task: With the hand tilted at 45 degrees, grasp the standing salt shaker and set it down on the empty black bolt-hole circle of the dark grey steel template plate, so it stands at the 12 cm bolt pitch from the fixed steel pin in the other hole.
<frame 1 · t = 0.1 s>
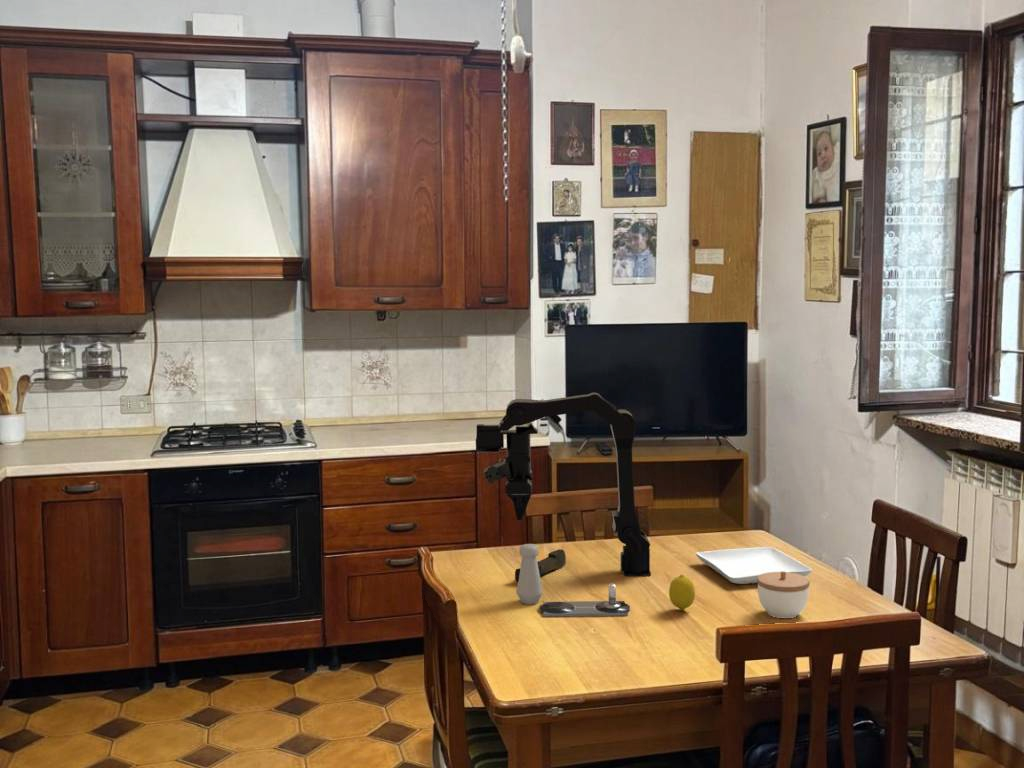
hand: (519, 515, 251), 15 cm above the table, tool pointing down, fingers open, 9 cm apart
hand tool: (541, 575, 253), on the table
salad plate: (752, 574, 251), on the table
salt shaker: (529, 602, 232), on the table
lemon: (681, 611, 224), on the table
fixed steel pin: (612, 609, 225), resting on template plate
lidded jar: (782, 615, 221), on the table
template plate: (584, 610, 226), on the table
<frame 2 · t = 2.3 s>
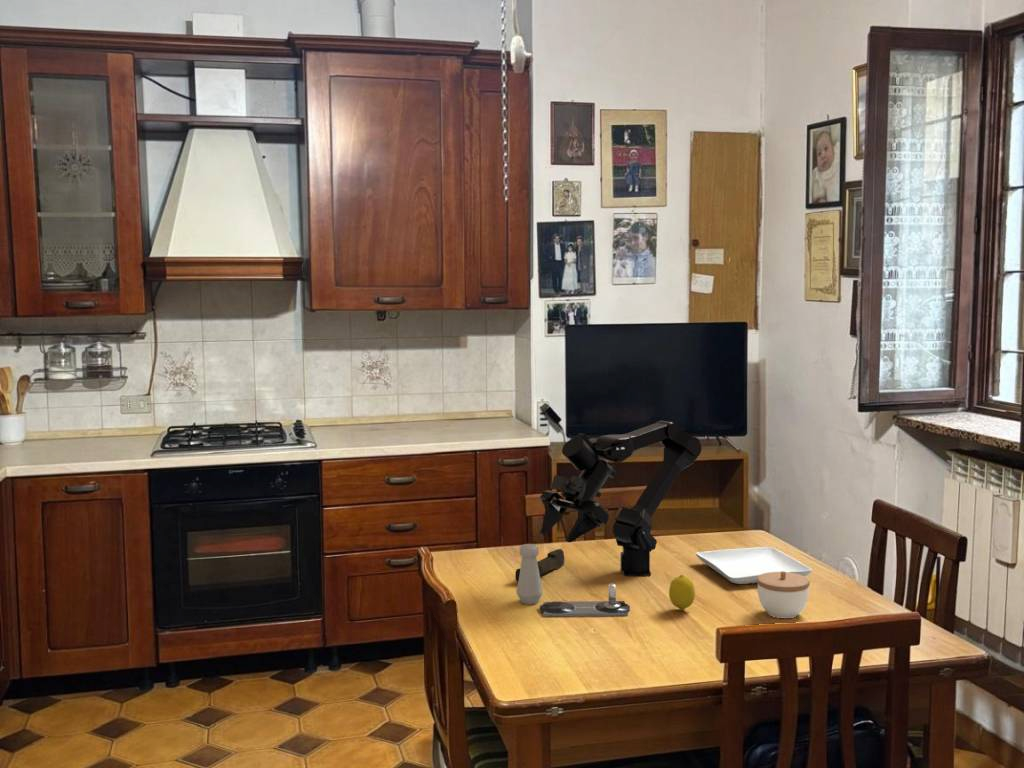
hand: (554, 537, 235), 13 cm above the table, tool tilted 45°, fingers open, 9 cm apart
nothing on the table moved.
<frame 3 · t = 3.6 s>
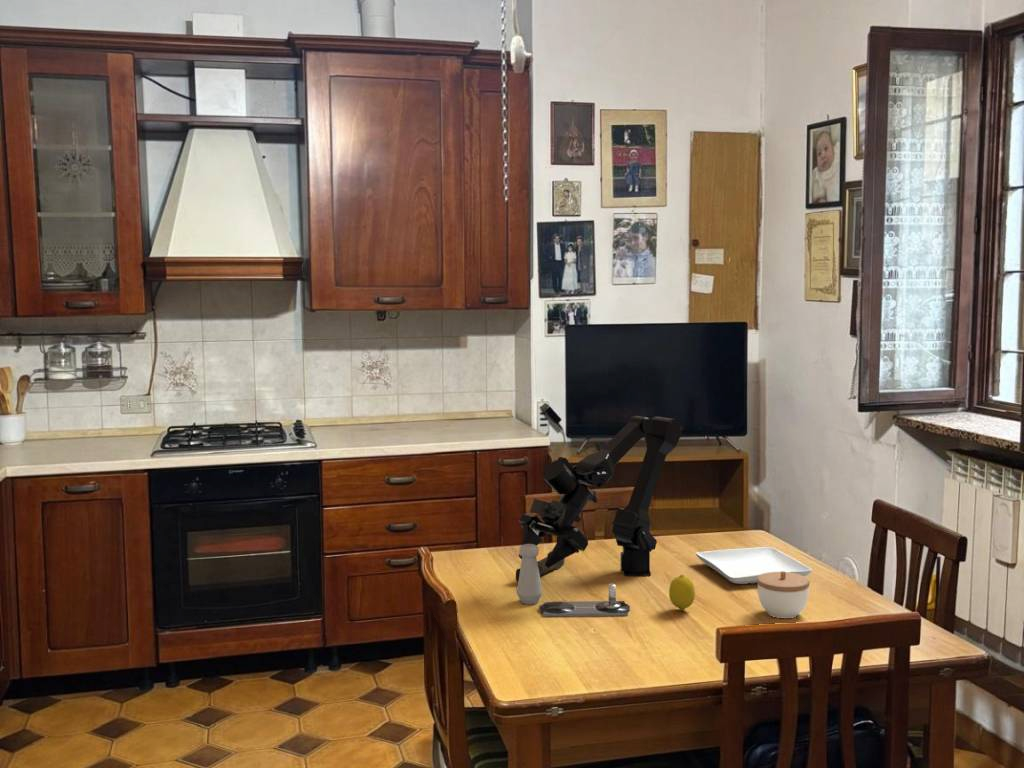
hand: (533, 562, 231), 9 cm above the table, tool tilted 45°, fingers open, 9 cm apart
nothing on the table moved.
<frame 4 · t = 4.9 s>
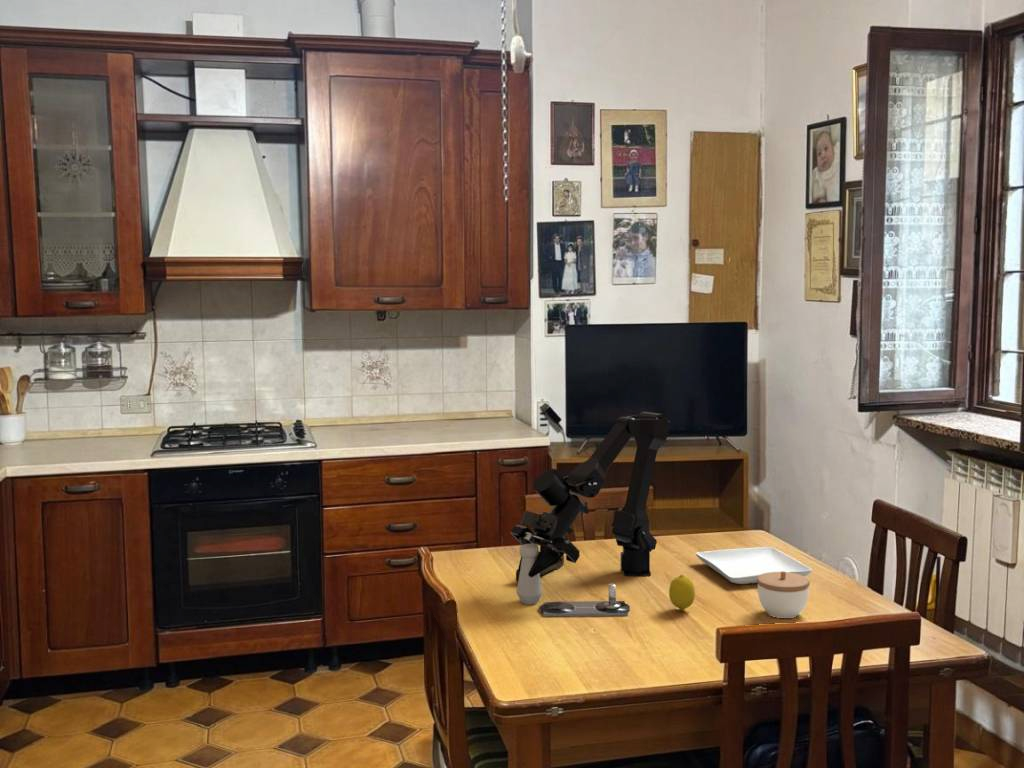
hand: (524, 574, 230), 7 cm above the table, tool tilted 45°, fingers closed on salt shaker, 3 cm apart
salt shaker: (529, 602, 232), on the table, touching gripper
everything else where it was.
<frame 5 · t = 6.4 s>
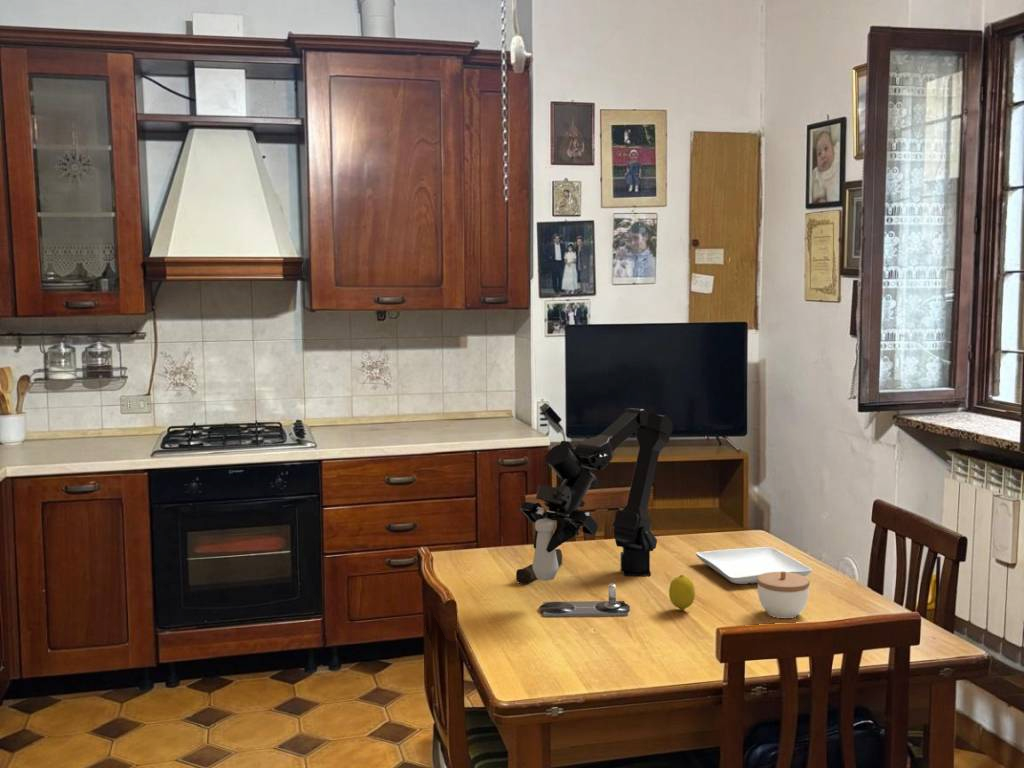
hand: (541, 549, 225), 13 cm above the table, tool tilted 45°, fingers closed on salt shaker, 3 cm apart
salt shaker: (545, 578, 227), point 6 cm above the table, touching gripper
everything else where it was.
when the fingers open (8 cm above the table, at t = 7.9 s): salt shaker stays where it is, resting on template plate.
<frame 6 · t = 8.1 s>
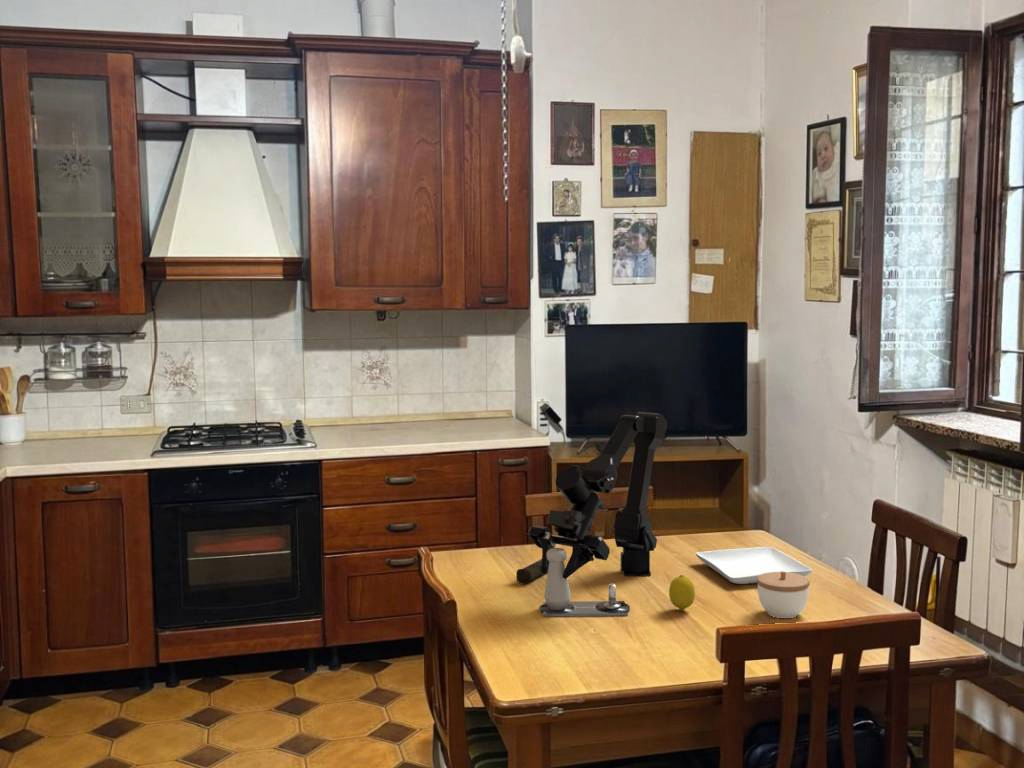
hand: (553, 575, 224), 8 cm above the table, tool tilted 45°, fingers open, 5 cm apart
salt shaker: (557, 607, 226), resting on template plate
everything else where it was.
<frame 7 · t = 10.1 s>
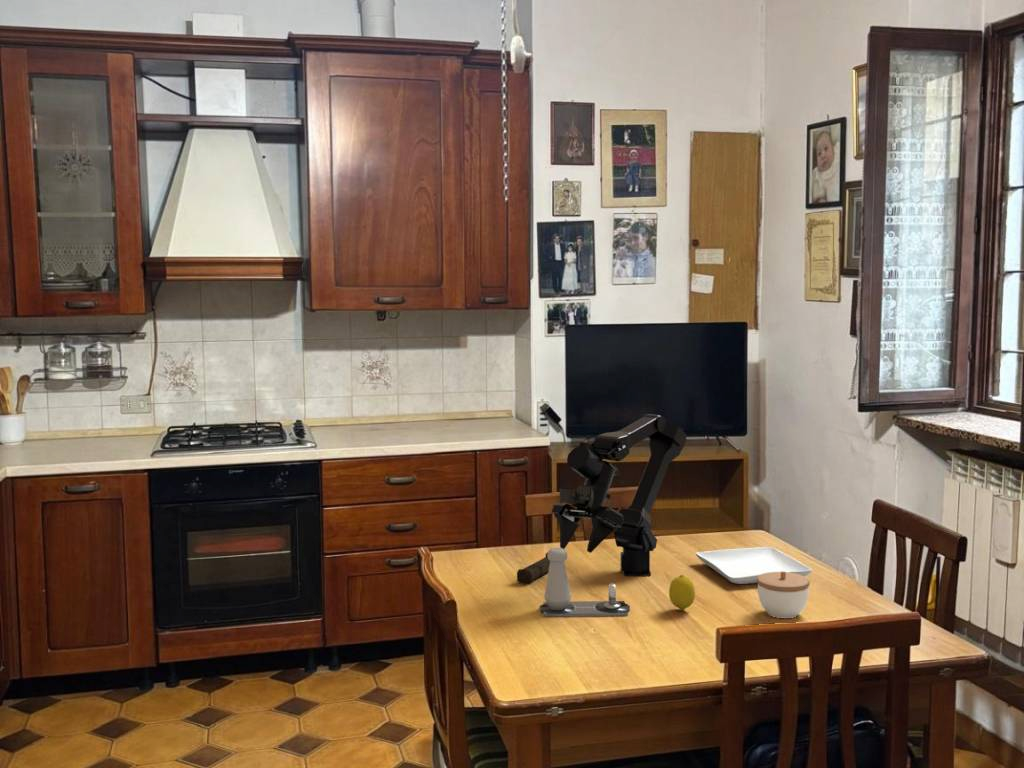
hand: (575, 550, 233), 11 cm above the table, tool tilted 30°, fingers open, 9 cm apart
nothing on the table moved.
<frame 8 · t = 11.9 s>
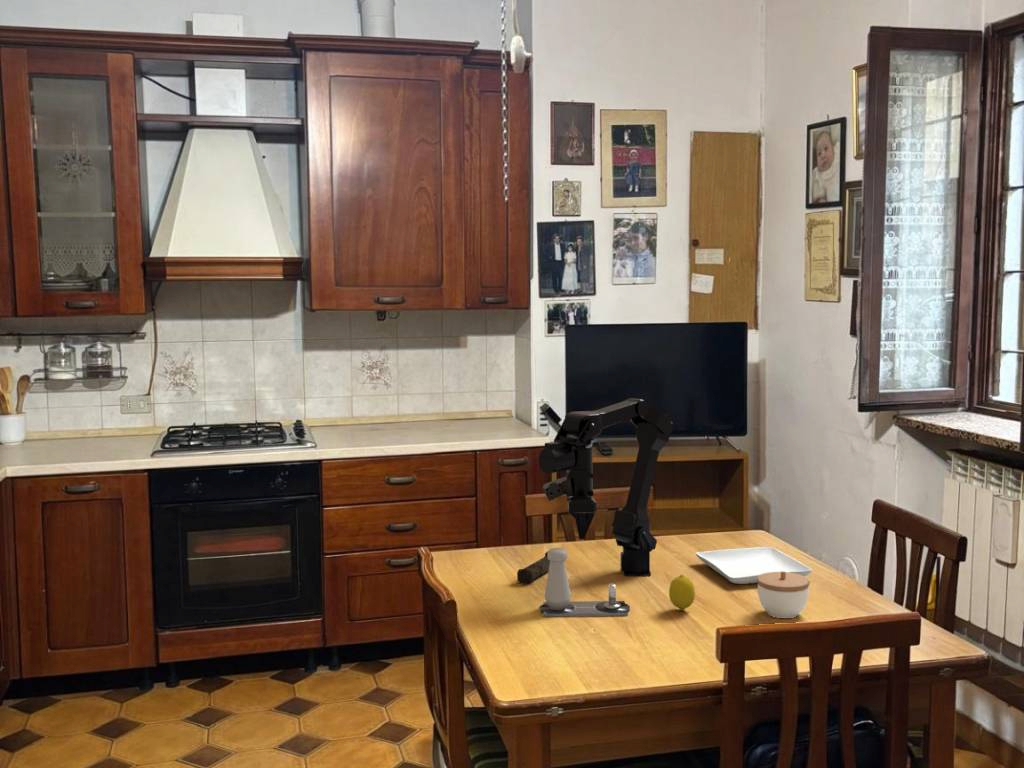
hand: (580, 533, 239), 13 cm above the table, tool pointing down, fingers open, 9 cm apart
nothing on the table moved.
at the end: salt shaker 0.3 cm from the target spot, resting on template plate; salt shaker tilted 0°; the gripper is holding nothing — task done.
